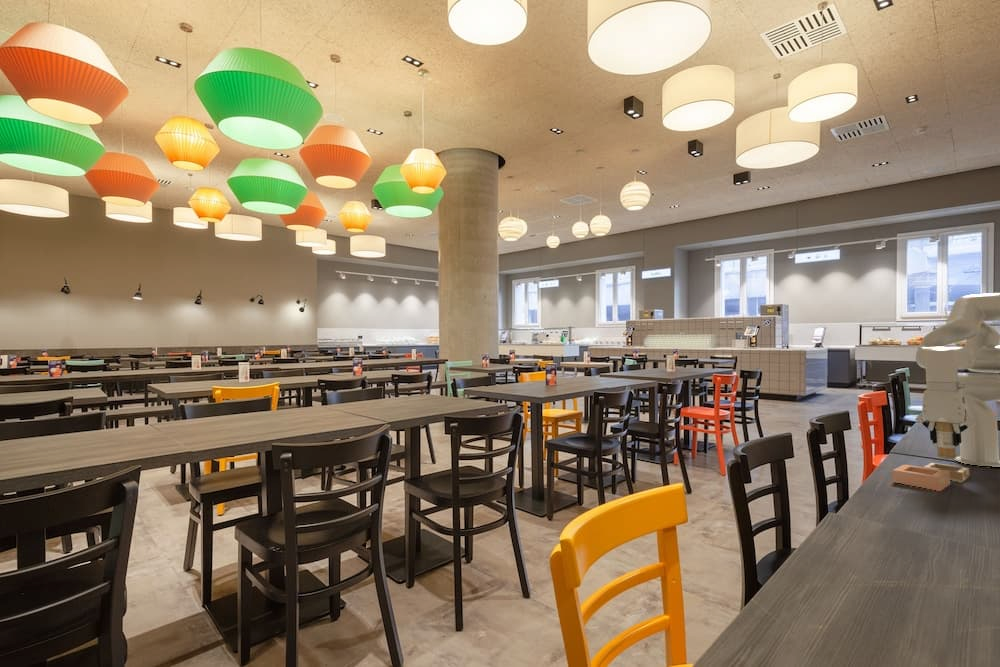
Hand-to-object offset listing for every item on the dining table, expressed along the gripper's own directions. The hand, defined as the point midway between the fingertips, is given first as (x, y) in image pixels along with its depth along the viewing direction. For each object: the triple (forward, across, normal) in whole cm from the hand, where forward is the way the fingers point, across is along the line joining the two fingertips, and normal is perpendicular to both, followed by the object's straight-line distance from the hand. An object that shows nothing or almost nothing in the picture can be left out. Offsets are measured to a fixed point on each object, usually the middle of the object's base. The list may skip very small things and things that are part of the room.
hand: (945, 443), depth 152 cm
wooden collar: (+10, 0, +1) cm, 10 cm away
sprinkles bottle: (+5, 0, 0) cm, 5 cm away
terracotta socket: (+10, +3, +16) cm, 19 cm away
